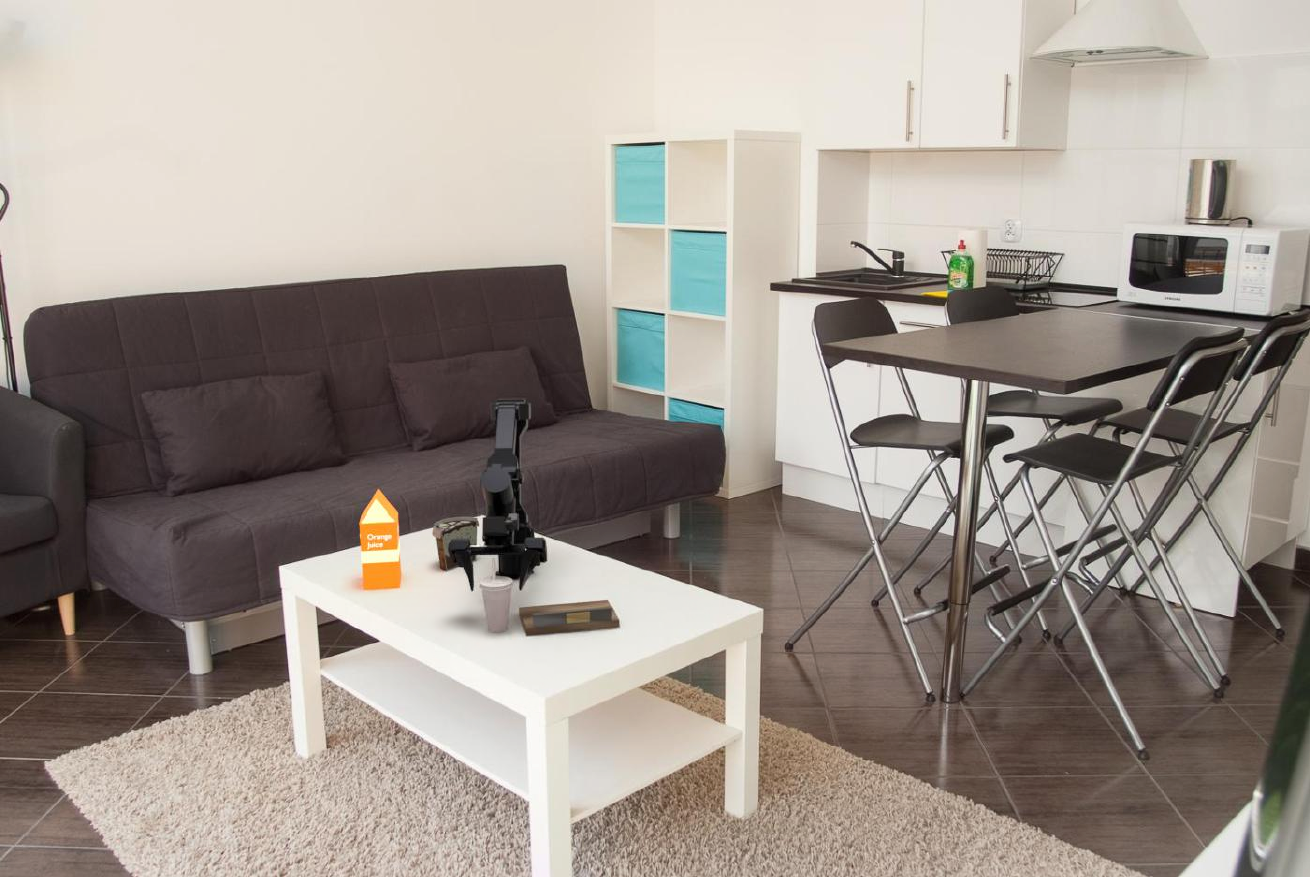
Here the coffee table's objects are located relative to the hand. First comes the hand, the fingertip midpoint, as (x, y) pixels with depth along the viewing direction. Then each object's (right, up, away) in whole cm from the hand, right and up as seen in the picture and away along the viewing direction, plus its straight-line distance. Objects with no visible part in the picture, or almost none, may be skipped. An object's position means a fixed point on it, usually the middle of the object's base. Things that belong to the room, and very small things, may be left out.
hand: (496, 590), depth 223 cm
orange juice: (-29, -3, +30) cm, 42 cm away
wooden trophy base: (+13, -7, +6) cm, 16 cm away
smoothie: (0, -8, +2) cm, 8 cm away
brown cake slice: (-16, 0, +43) cm, 46 cm away
